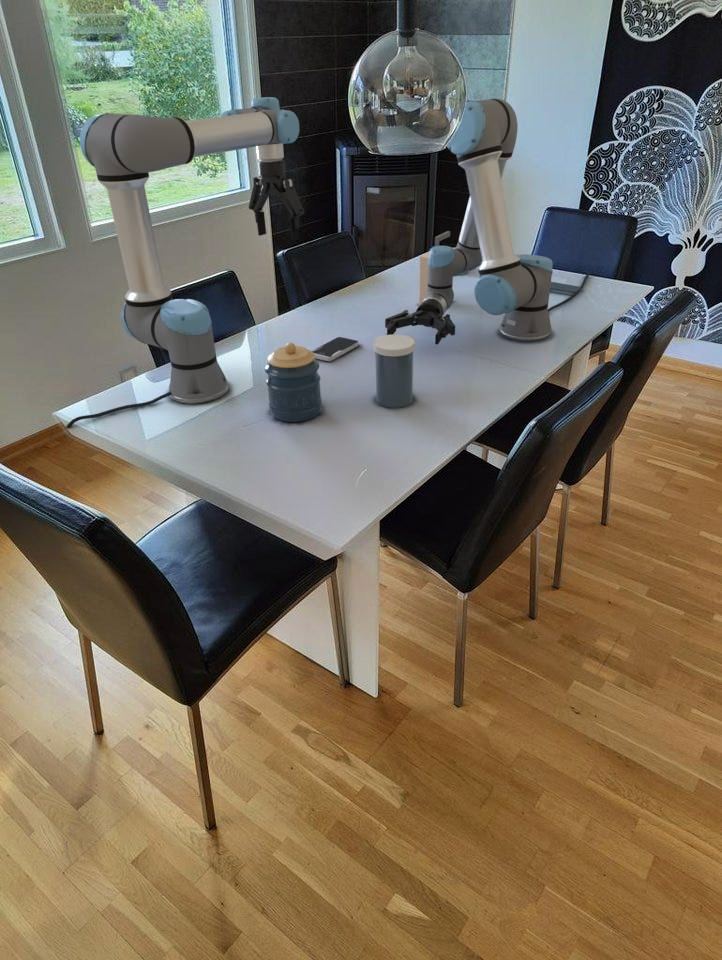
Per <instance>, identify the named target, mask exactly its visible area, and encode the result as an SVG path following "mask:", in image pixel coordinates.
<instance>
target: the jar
mask: <svg viewBox="0 0 722 960" xmlns="http://www.w3.org/2000/svg"><path fill="white" fill-rule="evenodd" d="M374 352H375V351H374ZM374 359H375V394H376V395H375V397H376V403H377V404H378V405H380V406H382V407H384V408H389V409H391V408H392V409H398V408H399V409H400V408H404V407H406V406H409V405H410V404H412V403H413V401H414V397H413V396H414V351H413V352H411V353H410V354H407V355H403V356H384V355H380V354H378V353H376V352H375V357H374Z"/></svg>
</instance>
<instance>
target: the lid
mask: <svg viewBox="0 0 722 960" xmlns="http://www.w3.org/2000/svg"><path fill="white" fill-rule="evenodd" d="M415 343H416V342H415V339H414V338H413V337H411V336H409V335H405V334H397V333H396V334H395V333H394V334H393V335H387V334H385V335H381V336H378V337H377V338H375V339H374V340H373V352H376V353H378V354H380V355H384V356H403V355H407V354H410V353H411V352H413V353H414V351H415V347H416V344H415Z"/></svg>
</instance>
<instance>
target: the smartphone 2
mask: <svg viewBox="0 0 722 960" xmlns="http://www.w3.org/2000/svg"><path fill="white" fill-rule="evenodd" d="M579 291H580V292H581V291H582V289H581V286H579V285H572V284H566V283H561V282H555V281H551V286H550V293H557V294H562V295H568V296H572V295H573V294H575V293H577V292H579ZM580 292H579V293H580Z"/></svg>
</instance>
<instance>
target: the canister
mask: <svg viewBox="0 0 722 960" xmlns="http://www.w3.org/2000/svg"><path fill="white" fill-rule="evenodd" d="M312 351H313V350H309V349H308V348H306V347H304V346H299V345H296V344H294V343H293V342H287V343H286V344H285V346H283V347H279V348H277V349H275V350H274V351H273V352H272V353H270V354H269V355H268V356H267V359H266V360H267V364H265V367H264V372H265V373H266V375H267V378H266V382H265V383H266V385H267V393H268V400H269V402H268V406H269V410H270V413H271V415H272V417H273V418H275V419H276V420H279V421H282V422H288V423H289V422H290V423H296V422H297V423H298V422H304V421H308V420H311V419H313V418H315V417H317V416H318V415H319V414H320V413H321V411H322V408H323V399H322V392H321V376H320V374H319V372H318V370H319V369H320V363H319V361H318V359H316V358H315V354H314V353H313V352H312Z"/></svg>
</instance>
